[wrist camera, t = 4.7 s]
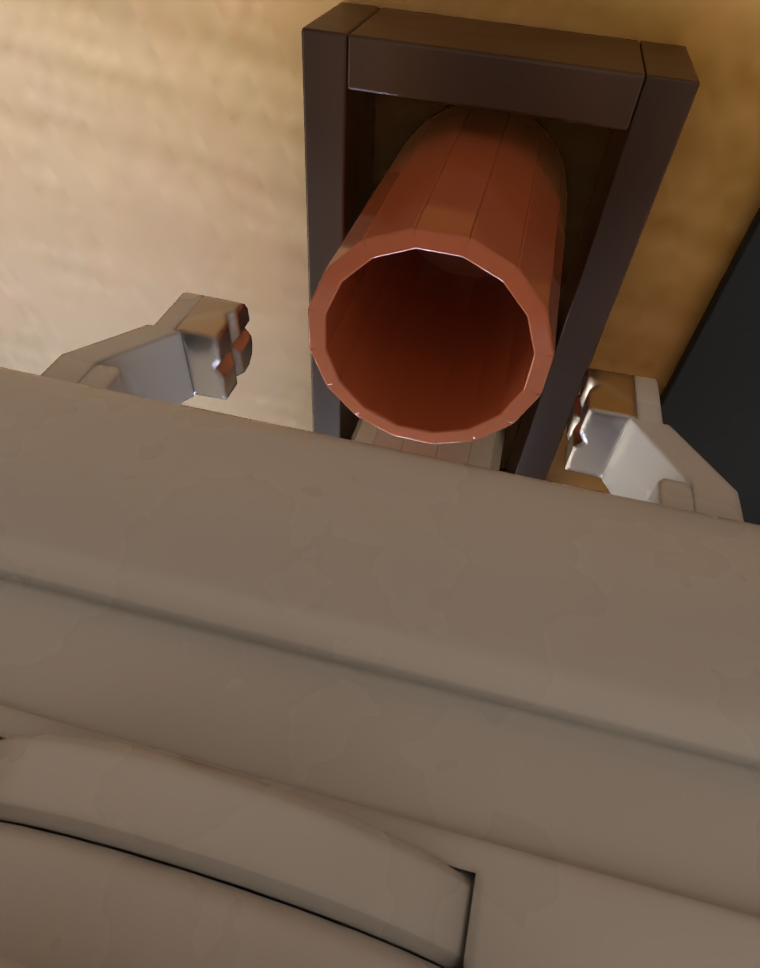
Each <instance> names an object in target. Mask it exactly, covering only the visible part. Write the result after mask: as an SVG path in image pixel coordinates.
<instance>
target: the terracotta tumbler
mask: <svg viewBox="0 0 760 968" xmlns="http://www.w3.org/2000/svg"><path fill="white" fill-rule="evenodd" d="M567 205H568V201H567V180H566V174H565V168H564V165H563V162H562V158H561V155H560V153H559V151H558V149H557V147H556V145H555V143H554V142H553V140H552V139H551V137H550V136H549V134H548V133H547V132H546V131H545V130H544V129H543V128H542V127H541V125H540V124H539V123H537V122H536V121H535V120H534V119H532V118H531V117H530V116H525V115H519V114H512V113H505V112H498V111H492V110H485V109H478V108H471V107H465V106H458V105H455V106H452V107H449V108H447V109H444V110H443V111H441V112H439V113H437V114H435V115H434V116H432V117H431V118H430V119H428V120H427V121H426V122H424V123H423V124H422V125H421V126H420V127H419V128H418V129H417V130H416V131H415V132H414V133H413V135H412V136H411V137H410V138H409V139H408V140H407V141H406V143H405V144H404V145H403V147H402V148H401V150H400V152H399V153H398V155H397V156H396V158H395V160H394V161H393V163H392V164H391V166H390V168H389V169H388V171H387V172H386V174H385V175H384V177H383V179H382V180H381V182H380V183H379V185H378V187H377V188H376V190H375V191H374V193H373V195H372V196H371V198H370V199H369V201H368V203H367V204H366V206H365V207H364V209H363V210H362V212H361V214H360V215H359V217H358V218H357V220H356V222H355V223H354V225H353V226H352V228H351V230H350V231H349V233H348V234H347V236H346V238H345V239H344V241H343V242H342V244H341V246H340V247H339V249H338V250H337V252H336V253H335V255H334V257H333V258H332V260H331V261H330V263H329V265H328V266H327V268H326V269H325V271H324V273H323V276H322V278H321V280H320V282H319V284H318V287H317V289H316V291H315V293H314V295H313V298H312V300H311V302H310V304H309V309H308V318H309V347H310V351H311V353H312V355H313V357H314V360H315V362H316V364H317V366H318V368H319V370H320V373H321V375H322V377H323V379H324V381H325V383H326V385H327V386H328V388H329V389H330V390H331V391H332V392H333V393H334V394H335V395H336V396H337V397H338V398H339V399H340V400H341V401H342V402H343V403H344V404H345V405H346V406H347V407H348V408H349V409H350V410H351V411H352V412H353V413H354V414H355V415H356V416H357V417H359V418H361V419H363V420H365V421H367V422H368V423H370V424H372V425H374V426H376V427H378V428H379V429H381V430H383V431H385V432H387V433H389V434H390V435H393V436H396V437H401V438H406V439H410V440H415V441H420V442H424V443H429V444H433V443H434V444H445V443H457V442H469V441H474V440H479V439H481V438H483V437H485V436H488V435H490V434H492V433H495V432H497V431H499V430H501V429H504V428H506V427H508V426H510V425H512V424H513V423H515V422H516V421H517V419H518V418H519V417H520V416H521V415H522V414H523V413H524V412H525V411H526V410H527V409H528V408H529V407H530V406H531V405H532V404H533V403H534V402H535V401H536V400H537V399H538V398H539V397H540V395H541V394H542V392H543V389H544V386H545V383H546V380H547V377H548V374H549V371H550V368H551V365H552V362H553V359H554V354H555V342H556V331H557V320H558V308H559V297H560V285H561V274H562V262H563V251H564V239H565V228H566V217H567Z"/></svg>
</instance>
